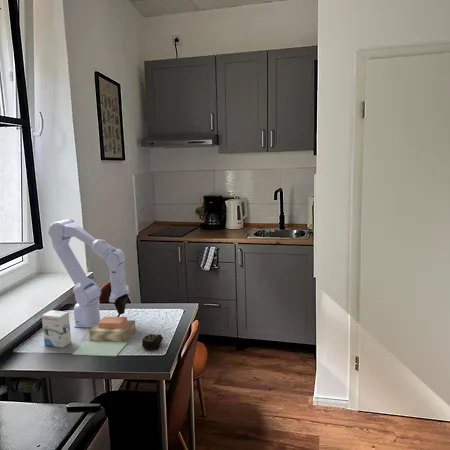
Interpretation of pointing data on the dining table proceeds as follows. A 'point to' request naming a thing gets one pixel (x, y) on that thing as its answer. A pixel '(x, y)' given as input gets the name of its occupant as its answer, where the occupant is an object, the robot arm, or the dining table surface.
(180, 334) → the dining table surface
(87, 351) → the mat
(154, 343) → the tape measure
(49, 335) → the ink box
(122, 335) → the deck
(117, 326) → the block
